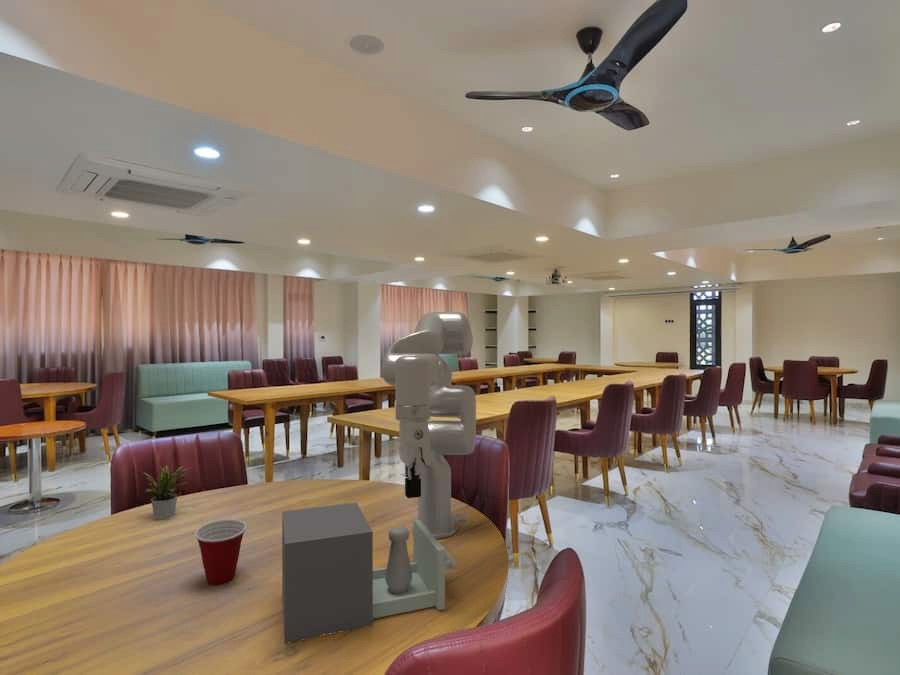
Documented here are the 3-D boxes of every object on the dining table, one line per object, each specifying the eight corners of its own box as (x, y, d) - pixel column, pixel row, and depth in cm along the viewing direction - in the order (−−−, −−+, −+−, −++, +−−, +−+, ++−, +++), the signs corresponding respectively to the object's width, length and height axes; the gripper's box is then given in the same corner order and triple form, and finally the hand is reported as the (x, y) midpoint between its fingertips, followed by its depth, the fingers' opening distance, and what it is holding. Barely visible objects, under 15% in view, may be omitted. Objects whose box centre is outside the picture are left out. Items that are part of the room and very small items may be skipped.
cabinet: (356, 582, 110) (356, 502, 110) (372, 625, 93) (372, 531, 93) (282, 595, 104) (282, 511, 105) (284, 643, 88) (284, 543, 88)
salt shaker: (408, 597, 101) (407, 534, 101) (381, 594, 102) (381, 532, 102) (415, 583, 107) (415, 524, 107) (390, 581, 108) (390, 522, 108)
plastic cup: (194, 596, 104) (194, 540, 104) (194, 575, 113) (194, 523, 113) (248, 585, 109) (248, 531, 109) (244, 565, 118) (244, 516, 118)
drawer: (435, 567, 117) (435, 517, 117) (463, 605, 100) (463, 546, 100) (350, 581, 109) (350, 528, 110) (365, 625, 93) (365, 562, 93)
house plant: (203, 515, 152) (203, 463, 153) (157, 529, 141) (157, 473, 141) (178, 507, 160) (178, 457, 160) (132, 520, 148) (133, 466, 148)
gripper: (439, 416, 100) (439, 505, 100) (420, 406, 114) (420, 484, 114) (403, 418, 97) (404, 510, 97) (388, 408, 111) (389, 488, 111)
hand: (413, 496), depth 106 cm, fingers closed
